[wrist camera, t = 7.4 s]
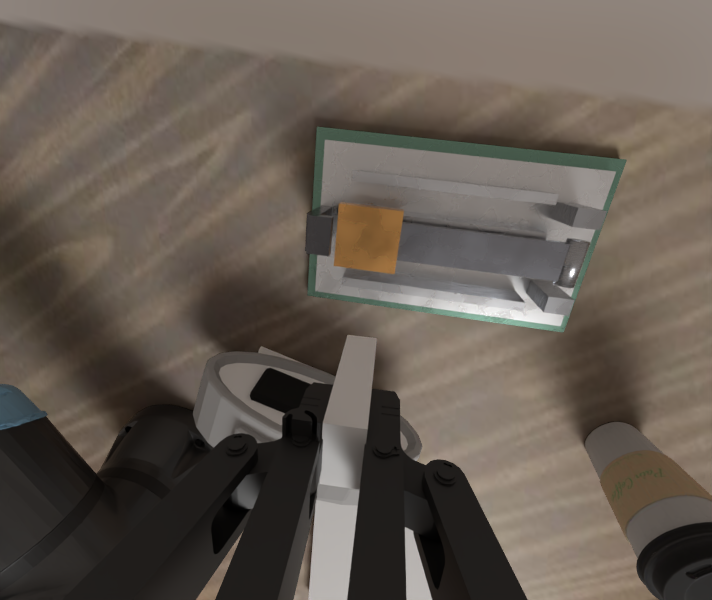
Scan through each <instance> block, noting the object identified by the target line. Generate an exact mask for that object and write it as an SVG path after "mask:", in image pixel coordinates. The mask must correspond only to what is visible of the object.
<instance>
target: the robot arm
mask: <svg viewBox="0 0 712 600" xmlns="http://www.w3.org/2000/svg"><path fill="white" fill-rule="evenodd" d="M376 344H377V338H372V337H363V336H355V335H347V338H346V342H345V346H344V349H343V353H342V356H341V360H340V363H339V367H338V370H337V374H336V378H335V381H334V385H331V384H323V383H316V382H313V383H312V384H311V385H310V386H309V387H308V388H307V389H306V391H305V393H304V396H303V398H302V401H301V404H300V406H299V408H295V409H291V410H290V411H288V412H286V413H285V415H284V416H283V417H282V438H280V439H278V440H275V441H271V442H265V443H257V441H256V439H255V438H254V437H253V436H251V435H249V434H245V433H238V434H232V435H230V436H227V437H226V438H224V439H223V440H221V441H220V442H219V443H218V444H217V445H216V446H215V447H212V446H211V445H210V444H209V443H208V442H207V441H206V439H205V438H204V437H203V435H202V434H201V433H200V431H199V430H198V429H197V427H196V424H195V420H194V417H193V411H190V410H188V409H185V408H182V407H178V406H173V405H155V406H150V407H147V408H145V409H143V410H141V411H139V412H138V413H137V414H136V415H135V416H134V417H133V418H132V419H131V420H130V421H128V422H127V423H126V424H125V425H124V427H123V428H122V429H121V431H120V432H119V434H118V436H117V438H116V440H115V442H114V444H113V446H112V448H111V450H110V451H109V453H108V455H107V457H106V459H105V461H104V463H103V465H102V467H101V469H100V470H99V471H98V472H97V474H96V473H95V472H94V471H93V470H92V469H91V467H90V466H89V465H88V464H87V463H86V462H85V461H84V459H83V458H82V457H81V456H80V455H79V454H78V453H77V451H76V450H75V449H74V448H73V447H72V446H71V445H70V443H69V442H68V441H67V440H66V439H65V438H64V436H63V435H62V434H61V433H60V432H59V431H58V430H57V428H56V427H55V426H54V425H53V424H52V423H51V422H50V420H49V419H48V418H47V417H46V416H47V415H48V414H47V413H46V412H45V411H41V410H40V409H39V408H38V407H37V406H36V405H35V404H34V403H33V402H32V401H31V400H30V399H29V398H28V397H27V396H26V395H25V394H24V393H23V392H22V391H21V390H19V389H18V388H16V387H14V386H12V385H8V384H0V600H196V599H197V597H198V596H199V594H200V593H201V591H202V590H203V588H204V587H205V585H206V584H207V582H208V581H209V580H210V578H211V577H212V575H213V574H214V572H215V571H216V569H217V568H218V566H219V565H220V564H221V562H222V561H223V559H224V558H225V556H226V555H227V553H228V552H229V550H230V549H231V547H232V546H233V545H234V543H235V542H236V540H237V539H238V537H239V536H240V534H241V533H242V531H243V530H244V531H243V533H242V536H241V538H240V541H239V543H238V546H237V548H236V550H235V553H234V555H233V558H232V560H231V563H230V565H229V567H228V570H227V572H226V575H225V577H224V580H223V582H222V584H221V587H220V589H219V592H218V594H217V597H216V599H215V600H293V599H294V595H295V590H296V586H297V582H298V577H299V573H300V569H301V564H302V560H303V556H304V551H305V547H306V543H307V538H308V534H309V530H310V526H311V521H312V517H313V513H314V508H315V504H316V500H317V487H318V483H319V479H320V484H323V485H330V486H337V487H344V488H351V489H358V490H359V499H358V508H357V516H356V525H355V534H354V543H353V552H352V561H351V570H350V578H349V587H348V596H347V600H407V598H406V556H405V527H406V528H408V529H410V530H412V531H413V534H414V538H415V542H416V545H417V549H418V552H419V556H420V559H421V563H422V566H423V569H424V573H425V576H426V580H427V583H428V587H429V590H430V594H431V597H432V600H527V598H526V596H525V594H524V592H523V590H522V588H521V586H520V584H519V582H518V580H517V578H516V576H515V574H514V572H513V570H512V568H511V566H510V564H509V562H508V560H507V558H506V556H505V554H504V552H503V550H502V548H501V546H500V544H499V542H498V540H497V538H496V536H495V534H494V532H493V530H492V528H491V526H490V524H489V522H488V520H487V518H486V516H485V514H484V512H483V510H482V508H481V506H480V504H479V502H478V500H477V498H476V496H475V494H474V492H473V490H472V488H471V486H470V484H469V482H468V480H467V478H466V476H465V475H464V473H463V472H462V470H461V469H460V468H459V467H457V466H456V465H455V464H453V463H451V462H449V461H446V460H433V461H430V462H429V463H428V464H427V465H424V464H421V463H419V462H417V461H415V460H413V459H411V458H410V457H409V456H407V454H406V453H405V452H404V451H403V449H402V447H401V435H400V399H399V398H398V396H397V394H396V393H395V392H393V391H385V390H377V389H372V382H373V373H374V363H375V353H376Z"/></svg>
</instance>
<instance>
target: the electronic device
mask: <svg viewBox="0 0 712 600" xmlns="http://www.w3.org/2000/svg"><path fill="white" fill-rule="evenodd" d="M357 508H358V506H356V505H339V504H335V503H330V502H325V501H320V500H316V504H315V518H314V531H313V545H312V559H311V572H310V586H309V599H308V600H347V596H348V587H349V578H350V570H351V561H352V552H353V543H354V534H355V525H356V516H357ZM405 556H406V598H407V600H432V597H431V594H430V590H429V587H428V583H427V580H426V576H425V573H424V569H423V566H422V563H421V559H420V556H419V552H418V549H417V545H416V542H415V538H414V534H413V531H412V530H410V529H408V528H406V527H405Z"/></svg>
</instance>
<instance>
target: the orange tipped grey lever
mask: <svg viewBox="0 0 712 600" xmlns="http://www.w3.org/2000/svg"><path fill="white" fill-rule="evenodd" d="M403 215H404V209H396V208H388V207H379V206H371V205H363V204H355V203H346V202H340V203H339V208H338V221H337V233H336V245H335V257H334V266H337V267H345V268H352V269H360V270H367V271H375V272H382V273H390V274H395V267H396V261H397V260H398V261H405V262H413V263H420V264H428V265H436V266H443V267H451V268H458V269H466V270H474V271H481V272H489V273H496V274H504V275H512V276H519V277H527V278H535V279H542V280H550V281H552V283H553V284H555V285H557V286H561V287H565V288H574V287H575V284H576V281H577V279H578V276H579V273H580V270H581V268H582V265H583V262H584V259H585V256H586V254H587V251H588V248H589V245H590V242H588V241H585V240H581V239H575V238H567V239H566V242H561V241H553V240H545V239H537V238H528V237H520V236H512V235H504V234H496V233H488V232H480V231H472V230H464V229H456V228H448V227H440V226H432V225H424V224H416V223H407V222H402V221H403Z"/></svg>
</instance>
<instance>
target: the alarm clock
mask: <svg viewBox="0 0 712 600" xmlns="http://www.w3.org/2000/svg"><path fill="white" fill-rule="evenodd" d="M335 378H336V376H334V375H331V374H329V373H327V372H324V371H322V370H319V369H316V368H313V367H311V366H308V365H306V364H303V363H301V362H299V361H296V360H294V359H291V358H289V357H286V356H284V355H282V354H279V353H277V352H274V351H272V350H269V349H267V348H265V347H262V346H261V347H260V348H259V351H258V353H256V352H241V351H233V352H225V353H219V354H217V355H215V356H214V357H212V358H210V359H209V360H208V362H207V364H206V367H205V369H204V373H203V376H202V380H201V384H200V388H199V392H198V396H197V399H196V403H195V407H194V411H193V417H194V420H195V424H196V427H197V429H198V430H199V431H200V433H201V434H202V435H203V437H204V438H205V439H206V441H207V442H208V443H209V444H210V445H211V446H212V447H215V446H216V445H217V444H218V443H219V442H220V441H221V440H223V439H224V438H226V437H227V436H230V435H232V434H238V433H245V434H249V435H251V436H253V437H254V438H255V439H256V441H257V443H265V442H271V441H275V440H278V439H280V438H282V417H283V416H284V415H285V413H286V412H288V411H290V410H291V409H295V408H299V406H300V404H301V401H302V398H303V396H304V393H305V391H306V389H307V388H308V387H309V386H310V385H311V384H312V383H313V382H316V383H323V384H331V385H334V381H335ZM400 435H401V447H402V449H403V451H404V452H405V453H406V454H407V456H409V457H410V458H411V459H413V460H415V461H417V459H418V458H419V456H420V452H421V449H422V444H421V441H420V438H419V435H418V434H417V432H416V431H415V430H414V429H413V427H412V426H411V425H410V424H409V423H408V421H406V420H405V419H404V418H403V417H402V416H401V415H400ZM358 499H359V490H358V489H351V488H344V487H337V486H330V485H323V484H320V479H319V483H318V487H317V500H320V501H325V502H330V503H335V504H339V505H356V506H358Z"/></svg>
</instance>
